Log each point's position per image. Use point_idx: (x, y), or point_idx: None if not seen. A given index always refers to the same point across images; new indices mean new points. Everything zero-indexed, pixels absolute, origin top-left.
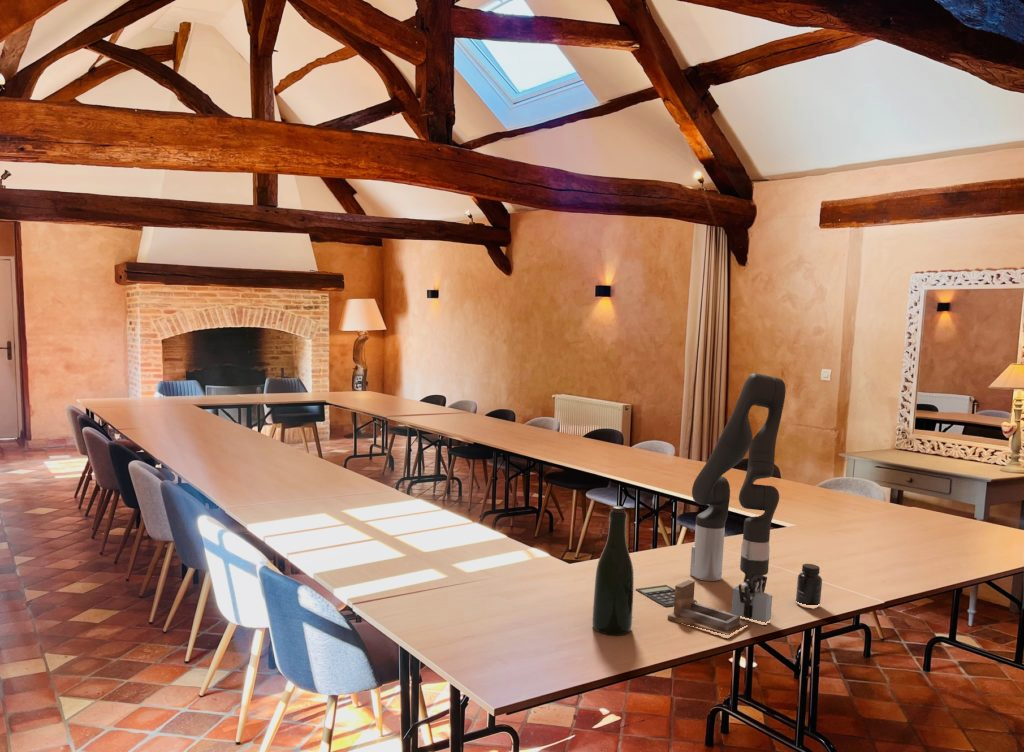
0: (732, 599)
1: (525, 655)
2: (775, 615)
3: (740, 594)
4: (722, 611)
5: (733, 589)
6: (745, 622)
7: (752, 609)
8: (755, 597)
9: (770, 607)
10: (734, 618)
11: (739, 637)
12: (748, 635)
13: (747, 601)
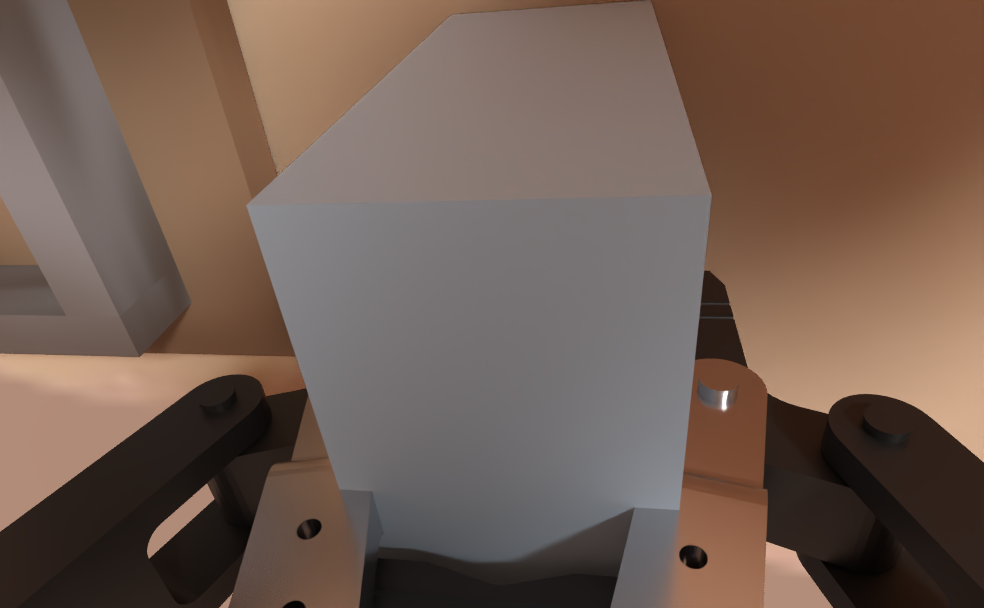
0: (367, 98)
1: None
2: (938, 394)
3: (27, 538)
4: (1, 118)
5: (270, 207)
6: (283, 333)
7: None
8: None
9: None
10: (23, 341)
11: (60, 363)
12: (170, 395)
13: (199, 527)
